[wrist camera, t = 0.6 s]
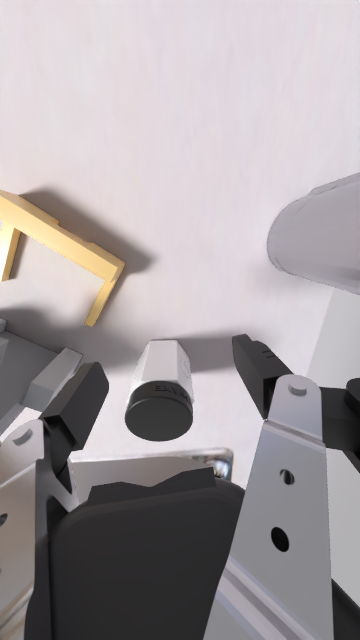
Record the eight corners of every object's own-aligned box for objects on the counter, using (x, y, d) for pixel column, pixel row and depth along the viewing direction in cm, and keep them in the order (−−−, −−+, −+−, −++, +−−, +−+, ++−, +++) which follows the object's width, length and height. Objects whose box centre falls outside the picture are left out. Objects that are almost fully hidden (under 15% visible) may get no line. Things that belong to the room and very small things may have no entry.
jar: (195, 365, 32) (206, 430, 21) (158, 382, 34) (151, 451, 23) (170, 329, 29) (169, 384, 18) (130, 350, 30) (107, 412, 20)
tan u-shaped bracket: (17, 194, 20) (-16, 185, 17) (126, 263, 24) (117, 267, 20) (-2, 275, 24) (-32, 281, 21) (94, 323, 28) (83, 336, 24)
